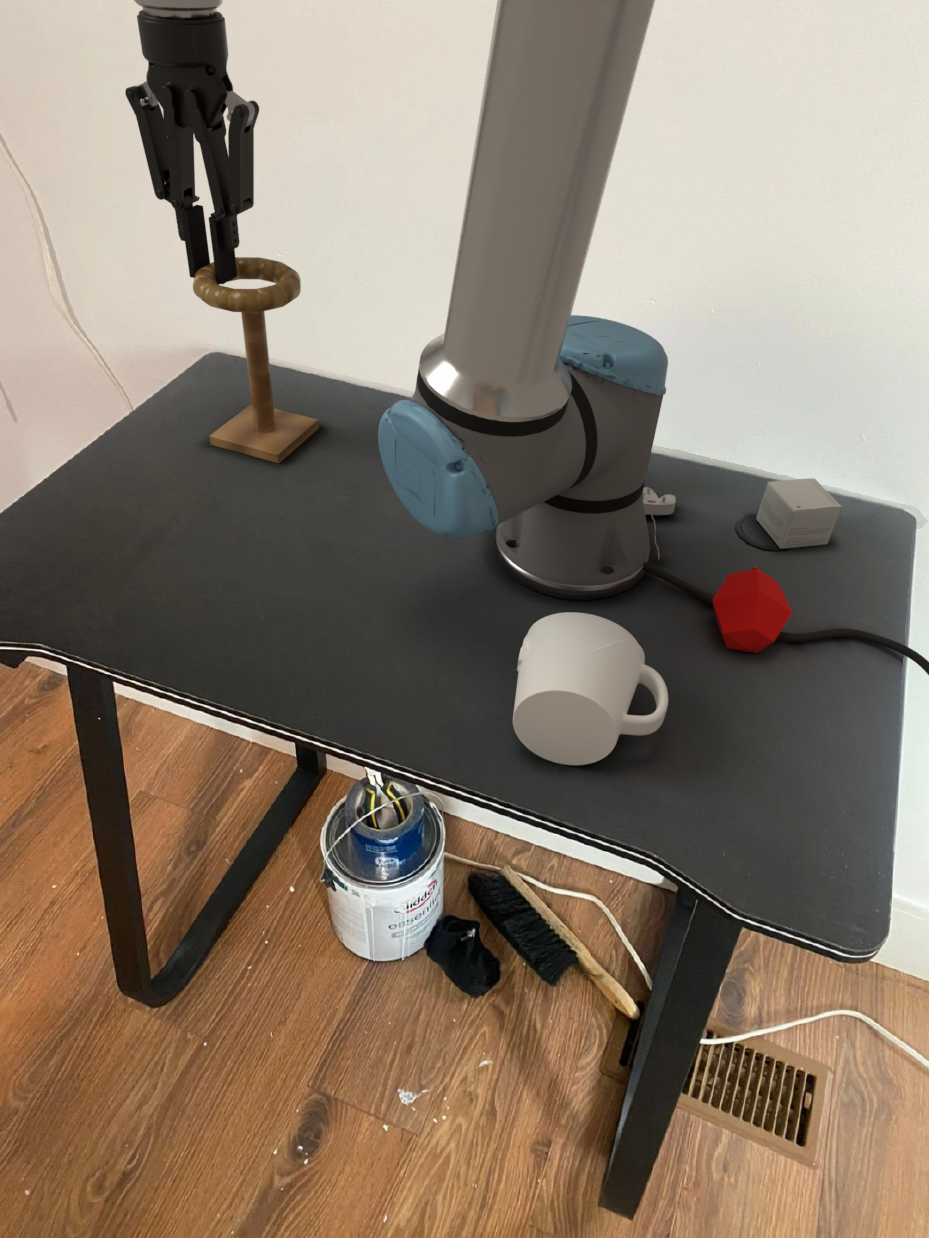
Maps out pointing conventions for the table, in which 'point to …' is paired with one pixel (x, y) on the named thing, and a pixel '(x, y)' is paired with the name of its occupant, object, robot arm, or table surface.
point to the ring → (249, 298)
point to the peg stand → (262, 407)
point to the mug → (581, 688)
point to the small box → (798, 513)
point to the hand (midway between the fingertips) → (213, 276)
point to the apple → (750, 610)
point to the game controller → (657, 505)
